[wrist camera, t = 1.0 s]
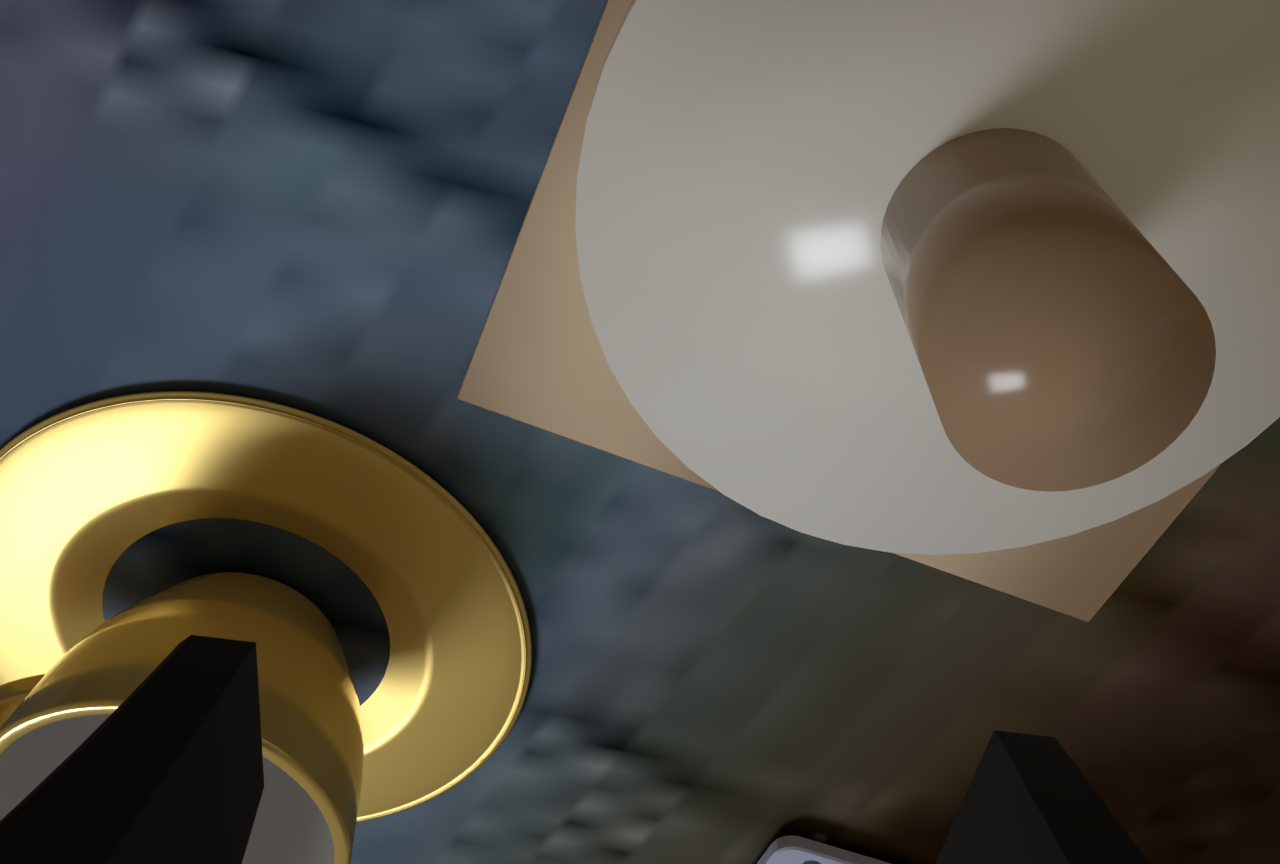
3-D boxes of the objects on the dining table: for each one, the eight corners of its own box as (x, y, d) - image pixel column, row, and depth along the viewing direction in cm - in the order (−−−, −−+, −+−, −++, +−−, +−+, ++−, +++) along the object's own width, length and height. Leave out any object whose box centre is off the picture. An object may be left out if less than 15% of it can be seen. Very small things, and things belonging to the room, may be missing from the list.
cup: (506, 374, 21) (459, 564, 16) (553, 811, 27) (529, 1035, 23) (-136, 383, 21) (-357, 570, 17) (60, 811, 28) (-61, 1030, 23)
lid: (1601, -14, 16) (1959, 99, 12) (1084, 608, 22) (1185, 835, 18) (797, -436, 14) (856, -502, 9) (475, 391, 20) (418, 590, 16)
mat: (1600, -31, 16) (1630, -23, 16) (1079, 602, 23) (1088, 622, 22) (783, -466, 14) (787, -472, 13) (462, 381, 21) (457, 398, 20)
